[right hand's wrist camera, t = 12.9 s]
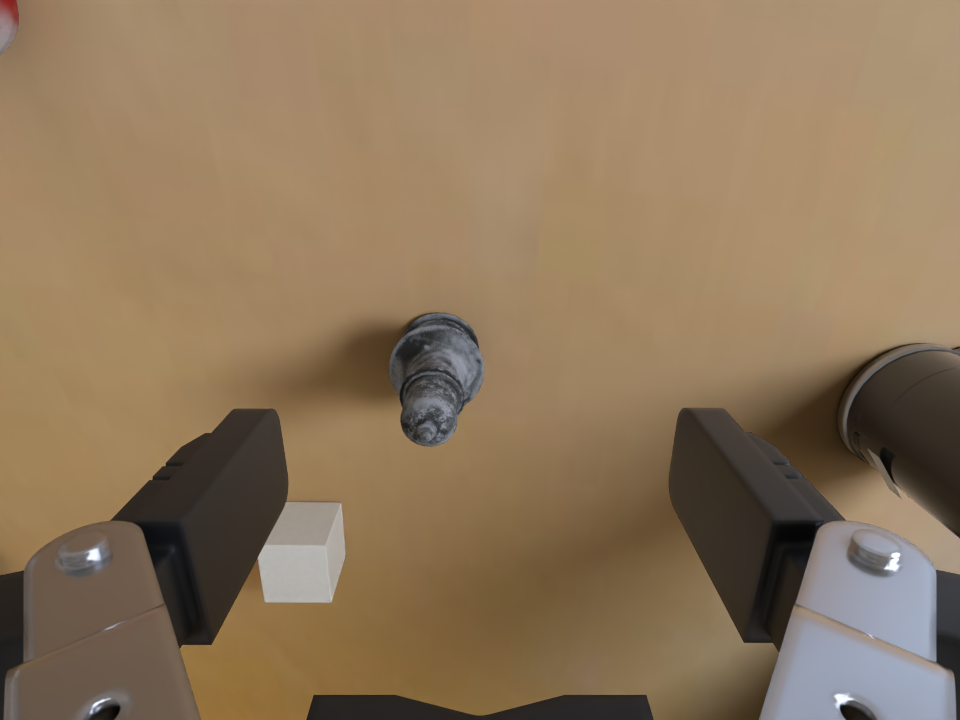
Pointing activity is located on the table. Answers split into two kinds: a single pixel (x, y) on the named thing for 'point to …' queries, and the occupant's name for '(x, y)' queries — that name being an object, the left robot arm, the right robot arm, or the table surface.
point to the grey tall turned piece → (435, 376)
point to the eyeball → (8, 23)
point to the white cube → (303, 554)
